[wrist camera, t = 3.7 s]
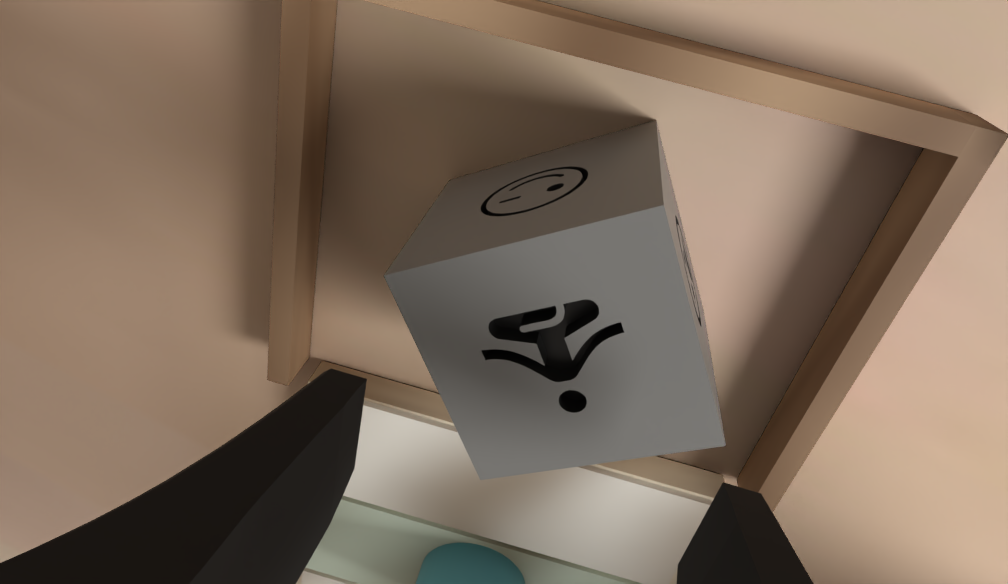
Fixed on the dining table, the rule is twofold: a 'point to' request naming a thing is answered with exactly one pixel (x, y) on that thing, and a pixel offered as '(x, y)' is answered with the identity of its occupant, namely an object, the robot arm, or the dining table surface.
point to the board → (614, 485)
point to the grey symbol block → (563, 310)
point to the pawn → (468, 566)
